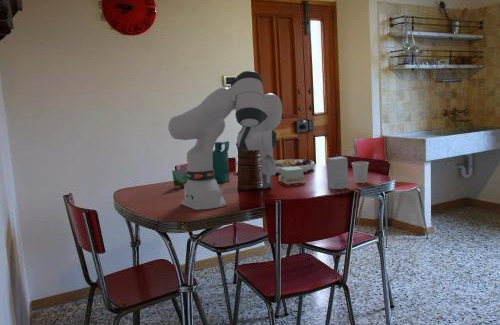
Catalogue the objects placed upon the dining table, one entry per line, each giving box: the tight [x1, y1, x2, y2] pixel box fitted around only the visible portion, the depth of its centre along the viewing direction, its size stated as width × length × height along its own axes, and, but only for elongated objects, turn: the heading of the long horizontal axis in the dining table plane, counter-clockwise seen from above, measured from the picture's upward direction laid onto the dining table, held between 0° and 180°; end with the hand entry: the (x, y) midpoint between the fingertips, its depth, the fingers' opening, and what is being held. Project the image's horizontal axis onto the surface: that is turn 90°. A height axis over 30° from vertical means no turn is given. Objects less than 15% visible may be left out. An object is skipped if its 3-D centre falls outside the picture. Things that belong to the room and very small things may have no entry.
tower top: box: [280, 167, 305, 178], centre depth 226 cm, size 9×9×4 cm
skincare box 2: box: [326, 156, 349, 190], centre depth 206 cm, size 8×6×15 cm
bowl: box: [275, 158, 315, 173], centre depth 265 cm, size 30×30×8 cm
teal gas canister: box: [212, 140, 230, 184], centre depth 239 cm, size 10×8×22 cm
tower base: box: [278, 175, 306, 184], centre depth 227 cm, size 10×10×4 cm
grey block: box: [262, 174, 273, 189], centre depth 216 cm, size 5×5×6 cm
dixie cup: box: [351, 161, 370, 183], centre depth 218 cm, size 8×8×10 cm
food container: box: [171, 166, 188, 190], centre depth 229 cm, size 12×6×10 cm, turn 168°
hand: (265, 181), depth 216 cm, fingers closed on grey block, 5 cm apart
